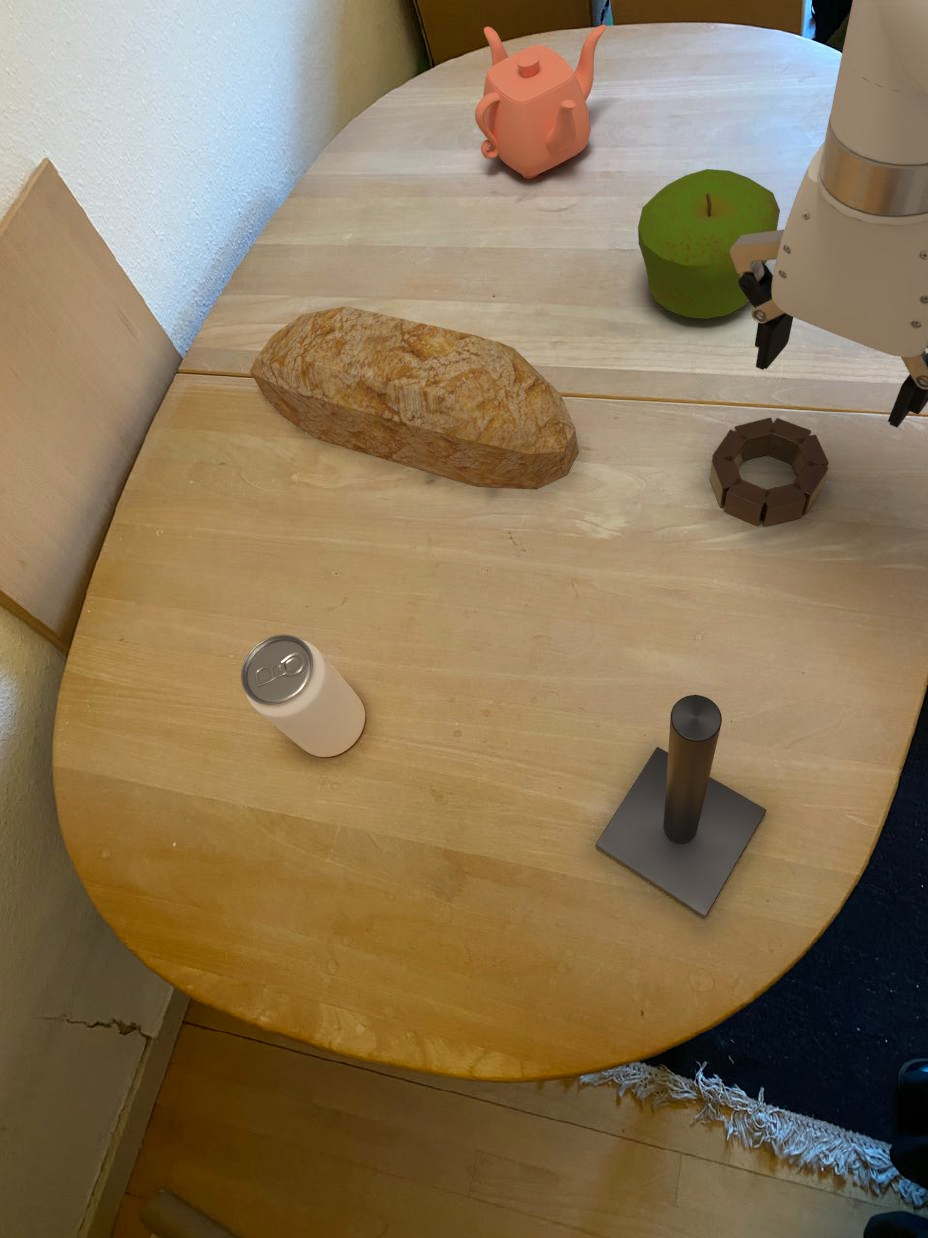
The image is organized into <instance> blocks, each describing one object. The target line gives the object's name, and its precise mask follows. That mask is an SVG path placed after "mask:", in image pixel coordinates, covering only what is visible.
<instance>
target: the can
mask: <svg viewBox="0 0 928 1238" xmlns="http://www.w3.org/2000/svg"><path fill="white" fill-rule="evenodd" d="M240 681H241V685H242V688H243V690H244V692H245V695H246V698H247V700H248V702H249V704H250V706H251V707H253V708H254V709H255V711H256V712H257V713H259V714H260V715H261V716H262V717H263V718H265V719H266V720H267V721H268V722H269V723H271V724H272V725H273V726H274V727H275V728H276V729H278V730H279V731H280V732H281V733H283V734H284V735H285V736H286V737H288V738H289V739H290V740H291V741H292V742H293V743H294V744H296V745H297V746H298V747H300V748H301V749H302V750H303V751H305V753H308V754H309V755H312V756H315V757H319V758H330V757H334V756H338V755H340V754H342V753H344V752H346V751H348V749H350V748H351V747H352V746H353V745H354V744H355V743H356V742H357V741H358V739H359V738H360V736H361V734H362V732H363V730H364V727H365V723H366V711H365V707H364V704H363V702H362V701H361V699H360V697H359V696H358V695H357V693H356V692H355V691H354V689H353V688H352V687H351V686H350V685H349V683H348V682H347V681H346V680H345V679H344V677H343V676H342V675H341V674H340V673H339V672H338V671H337V669H336V668H335V667H334V666H333V665H332V664H331V662H329V660H328V659H327V658H326V656H325V655H323V653H322V652H321V651H320V650H319V649H318V648H317V647H316V646H315V645H314V644H312V643H310V642H309V641H307V640H304V639H300V638H299V637H297V636H295V635H291V634H275V635H271V636H269V637H267V638H265V639H263V640H261V641H259V642H258V643H256V645H255V646H254V647H253V648H251V650H250V651H249V652H248V653H247V655H246V657H245V659H244V661H243V663H242V666H241V670H240Z"/></svg>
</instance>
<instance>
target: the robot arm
mask: <svg viewBox="0 0 928 1238" xmlns="http://www.w3.org/2000/svg"><path fill="white" fill-rule="evenodd" d="M845 32H846V33H845V37H844V42H843V48H842V53H841V58H840V62H839V68H838V74H837V78H836V83H835V84H836V85H835V88H834V94H833V99H832V104H831V109H830V113H829V117H828V122H827V127H826V133H825V137H824V142H823V143H822V144H821V145H820V147H819V148H818V149H817V151H816V153H815V154H814V155H813V157H812V159H811V160H810V162H809V164H808V167H807V168H806V171H805V173H804V175H803V178H802V181H801V182H800V185H799V188H798V190H797V191H796V195H795V197H794V200H793V203H792V206H791V209H790V211H789V215H788V217H787V220H786V224H785V227H784V229H777V231H769V232H761V233H753V234H745V235H742V236H741V237H740V238H739V239H738V240H737V241H736V242H735V243H734V245H733V246H732V247H731V248H730V250H729V253H730V256H731V259H732V261H733V264H734V267H735V269H736V272H737V273H739V276H740V279H739V282H738V284H739V287H740V288H741V290H742V291H743V293H744V294H745V295H746V297H747V298H748V302H749V303H750V304H751V306H752V307H753V309H752V311H751V318H752V319H753V320H754V321H755V322H757V328H756V334H755V341H754V347H756V348H757V356H756V362H755V368H757V369H759V370H762V371H764V370H767V369H768V368H769V367H770V366H771V365H772V363H773V362H774V361H775V360H776V359H777V358H778V356H780V354H781V353H782V352H783V350H784V349H785V347H786V346H787V345H788V344H789V340H790V336H791V333H792V331H791V330H792V326H793V322H794V318H795V319H796V320H800V321H801V322H804V323H806V324H809V325H811V326H814V327H816V328H818V329H821V330H824V331H825V332H826V331H827V332H828V333H831V334H833V335H836V336H838V337H841V338H844V339H847V340H849V341H852V342H854V343H857V344H860V345H862V346H864V347H868V348H870V349H873V350H875V351H878V352H881V353H884V354H887V355H890V356H894V357H898V358H899V357H900V358H901V360H902V362H903V364H904V366H905V367H906V370H907V372H908V373H909V375H908V376H907V377H906V378H905V379H904V381H903V383H902V384H901V386H900V388H899V391H898V394H897V396H896V398H895V402H894V404H893V407H892V409H891V412H890V413H889V417H888V419H887V422H888V423H889V425H890V426H891V427H894V428H899V427H900V425H901V424H902V422H903V421H904V420H905V419H906V417H907V416H908V415H909V414H910V413H913V414H915V415H920V413H921V412H922V411H923V410H924V408H925V407H926V405H927V404H928V352H927V351H926V350H927V349H928V0H852V3H851V7H850V12H849V17H848V23H847V28H846V31H845ZM764 260H767V261H772V260H775V264H774V267H773V273H772V272H771V270H770V269H769V267H768V266H767V265H766V263H765V264H764V263H763V262H762V261H764Z"/></svg>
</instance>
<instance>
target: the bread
mask: <svg viewBox="0 0 928 1238" xmlns="http://www.w3.org/2000/svg"><path fill="white" fill-rule="evenodd" d="M249 373H250V374H251V376H252V378H253V380H254V381H255V383H256V385H257V386H258V388H259V389H260V391H261V394H262V395H263V396H265V398H266V399H267V400H268V402H270V403H271V404H272V405H273V407H274V408H276V410H277V411H278V412H279V413H280V414H281V415H282V416H283V417H284V418H285V419H287V420H288V421H289V422H291V423H293V424H294V425H295V426H297V427H299V428H300V429H302V430H303V431H304V432H306V433H308V434H309V435H310V436H311V437H312V438H315V439H317V440H320V441H323V442H326V443H327V442H328V443H331V444H333V445H337V446H341V447H344V448H347V449H350V450H353V451H357V452H361V453H364V454H368V455H371V456H374V457H376V458H377V457H378V458H380V459H384V460H387V461H390V462H394V463H398V464H400V465H404V466H407V467H411V468H414V469H418V470H420V471H423V472H427V473H429V474H433V475H438V476H442V477H444V478H447V479H451V480H455V481H458V482H461V483H465V484H467V485H471V486H475V487H477V488H478V487H482V488H503V489H505V488H507V489H530V490H531V489H532V490H538V489H540V488H542V487H545V486H546V485H548V484H550V483H552V482H554V481H555V482H556V481H557V480H560V479H561V478H564V477H565V476H567V475H568V474H569V471H570V469H571V467H572V466H573V464H574V462H575V460H576V458H577V456H578V454H579V447H578V439H577V433H576V432H577V431H576V427H575V424H574V423H573V420H572V418H571V415H570V413H569V410H568V407H567V405H566V403H565V401H564V398H563V395H562V394H561V392H560V391H558V390H557V388H555V387H554V386H553V385H552V384H551V383H550V382H549V381H548V380H547V379H546V378H545V377H544V376H543V374H541V373H540V372H539V371H538V370H537V369H536V368H535V367H534V366H533V365H532V364H531V363H530V362H529V361H528V360H527V359H525V357H524V356H522V355H521V354H520V352H519V351H518V350H517V349H516V348H514V347H512V346H511V345H507V344H505V343H502V342H500V341H497V340H493V339H490V338H487V337H483V336H479V335H476V334H471V333H467V332H463V331H458V330H453V329H449V328H445V327H440V326H436V325H432V324H426V323H422V322H417V321H413V320H409V319H404V318H400V317H396V316H391V315H387V314H384V313H383V314H382V313H378V312H374V311H369V310H364V309H360V308H356V307H353V306H352V307H351V306H339V307H334V308H329V309H324V310H318V311H312V312H308V313H303V314H301V315H299V316H298V317H296V318H295V319H293V320H292V321H291V322H289V323H288V324H287V325H285V326H284V327H282V328H280V329H279V330H278V331H276V332H275V333H274V334H273V335H271V337H270V338H269V339H268V340H267V342H266V343H265V345H264V347H263V348H262V349H261V350H260V352H259V353H258V355H257V356H256V358H255V359H254V361H253V363H252V366H251V368H250V369H249Z"/></svg>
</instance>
